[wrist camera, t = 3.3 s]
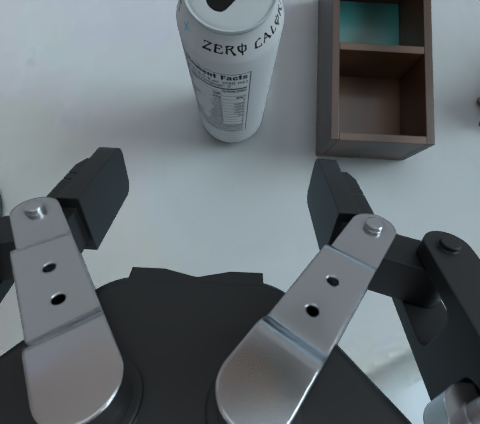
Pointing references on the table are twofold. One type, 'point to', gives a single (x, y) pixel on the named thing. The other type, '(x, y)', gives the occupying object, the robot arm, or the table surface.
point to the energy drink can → (230, 60)
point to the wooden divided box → (374, 78)
